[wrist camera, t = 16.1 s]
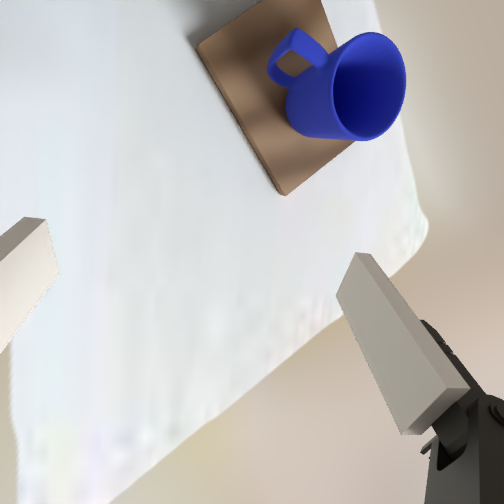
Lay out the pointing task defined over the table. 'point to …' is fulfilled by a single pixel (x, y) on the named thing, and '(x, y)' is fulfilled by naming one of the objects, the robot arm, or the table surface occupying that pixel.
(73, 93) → the table surface
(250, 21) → the walnut board
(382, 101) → the mug
